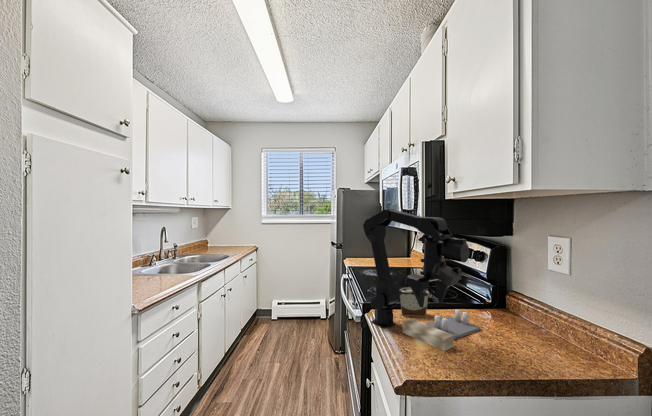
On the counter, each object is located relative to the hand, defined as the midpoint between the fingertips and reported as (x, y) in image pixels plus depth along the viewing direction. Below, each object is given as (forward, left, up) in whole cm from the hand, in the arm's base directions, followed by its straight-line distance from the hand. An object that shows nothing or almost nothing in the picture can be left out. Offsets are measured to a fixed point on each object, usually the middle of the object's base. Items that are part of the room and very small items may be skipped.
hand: (431, 305), depth 96 cm
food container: (-21, +16, -12) cm, 29 cm away
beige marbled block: (-2, +1, -12) cm, 13 cm away
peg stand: (-3, +16, -12) cm, 20 cm away
